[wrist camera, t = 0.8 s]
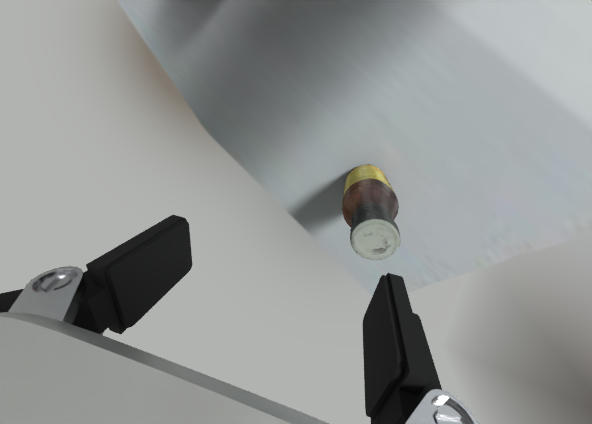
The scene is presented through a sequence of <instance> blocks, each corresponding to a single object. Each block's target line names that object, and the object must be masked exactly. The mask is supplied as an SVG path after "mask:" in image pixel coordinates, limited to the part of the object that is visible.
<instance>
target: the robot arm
mask: <svg viewBox="0 0 592 424" xmlns="http://www.w3.org/2000/svg"><path fill="white" fill-rule="evenodd" d="M86 266H87V269H88V270H87V271H86V272H84V273H83V271H82V270H81V269H80V268H78V267H71V266H69V267H60V268H56V269H52V270H50V271H47V272H44V273H43V274H40V275H38V276H37V277H35V278H34V279H32V280H31V281H30V282H29V283H28V284H27V285H26V287H25V288H24V289H21V290H16V291H11V292H6V293H1V294H0V424H329V423H326V422H324V421H321V420H319V419H317V418H314V417H311V416H309V415H307V414H305V413H302V412H299V411H297V410H295V409H292V408H290V407H287V406H284V405H282V404H279V403H277V402H274V401H271V400H269V399H267V398H264V397H261V396H259V395H256V394H254V393H251V392H249V391H246V390H243V389H241V388H238V387H236V386H233V385H231V384H228V383H225V382H223V381H220V380H218V379H215V378H212V377H210V376H207V375H205V374H202V373H200V372H197V371H194V370H192V369H189V368H186V367H184V366H181V365H178V364H176V363H174V362H171V361H168V360H166V359H163V358H161V357H158V356H155V355H153V354H150V353H147V352H144V351H142V350H139V349H137V348H134V347H131V346H129V345H126V344H124V343H121V342H118V341H116V340H113V339H110V338H108V337H105V336H103V332H104V331H105V330H106V329H107V328H108V327H109V329H110V330H111V331H113V332H116V333H119V334H122V333H123V332H124V331H125V330H126V329H127V328H129V327H132V326H133V325H134V324H135V323H136V322H138V320H140V319H141V318H142V317H143V316H144V315H145V313H147V312H148V311H149V310H150V309H151V308H152V307H153V306H154V305H155V304H156V303H157V302H158V301H159V300H160V299H161V298H162V297H163V296H164V295H165V294H166V293H167V292H168V291H169V290H170V289H171V288H172V287H173V286H174V285H175V284H176V283H177V282H179V281H180V280H181V279H182V278H183V277H184V276H185V275H186V274H187V273H188V272H189V271H190V269H191V267H192V256H191V245H190V232H189V224H188V222H187V220H186V219H185V218H183V217H179V216H175V215H172V216H170V217H168V218H166V219H164V220H163V221H161V222H159V223H158V224H156V225H154V226H152V227H151V228H149V229H147V230H145V231H144V232H142V233H140V234H138V235H137V236H135V237H133V238H132V239H130V240H128V241H126V242H125V243H123V244H121V245H119V246H118V247H116V248H114V249H113V250H111V251H109V252H107V253H106V254H104V255H102V256H100V257H99V258H97V259H95V260H93V261H92V262H90V263H88V264H87V265H86ZM363 348H364V379H365V408H366V415H367V416H368V417H371V424H479V422H478V421H477V419H476V418H475V416H474V415H473V413H472V412H471V411H470V410H469V408H468V407H467V406H466V405H465V404H464V403H463V402H462V401H461V400H459V399H458V398H457V397H455V396H454V395H452V394H450V393H449V392H447V391H444V390H442V388H441V385H440V382H439V378H438V375H437V372H436V369H435V366H434V363H433V359H432V356H431V353H430V349H429V346H428V343H427V339H426V336H425V333H424V330H423V326H422V323H421V320H420V318H419V316H418V315H417V314H414V313H413V312H412V309H411V305H410V302H409V298H408V294H407V291H406V287H405V284H404V280H403V277H401V276H397V275H393V274H390V273H388V274H387V275H386V276H384V275H382V276H381V278H380V280H379V283H378V285H377V287H376V290H375V292H374V295H373V297H372V300H371V302H370V304H369V306H368V309H367V311H366V313H365V316H364V319H363Z"/></svg>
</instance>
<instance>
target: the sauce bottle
mask: <svg viewBox="0 0 592 424" xmlns="http://www.w3.org/2000/svg"><path fill="white" fill-rule="evenodd" d="M398 208H399V205H398V200H397V197H396V195H395V193H394V191H393V189H392V187H391V186H390V184H389V182H388V180H387V178H386V177H385V175H384V173H383V172H382V171H381V170H380V169H379V168H377V167H375V166H372V165H361V166H359V167H356V168H354V169H353V170H352V171H351V172H350V173H349V175H348V176H347V179H346V183H345V189H344V196H343V208H342V210H343V215H344V219H345V221H346V223H347V224H348V225H349V226H350V227H351V234H350V240H351V245H352V247H353V249H354V250H355V251H356V253H358V254H359V255H360V256H361V257H364V258H366V259H370V260H382V259H384V258H387V257H389V256H390V255H392V254H393V253H394V252H395V251H396V250H397V248H398V247H399V245H400V234H399V230H398V227H397V225H396V223H395V222H394V219H395V217H396V215H397V213H398Z"/></svg>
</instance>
